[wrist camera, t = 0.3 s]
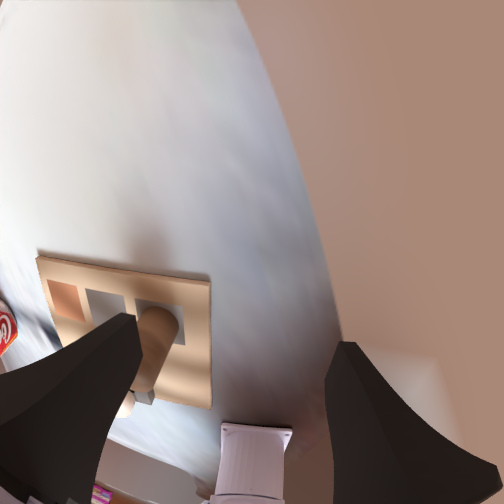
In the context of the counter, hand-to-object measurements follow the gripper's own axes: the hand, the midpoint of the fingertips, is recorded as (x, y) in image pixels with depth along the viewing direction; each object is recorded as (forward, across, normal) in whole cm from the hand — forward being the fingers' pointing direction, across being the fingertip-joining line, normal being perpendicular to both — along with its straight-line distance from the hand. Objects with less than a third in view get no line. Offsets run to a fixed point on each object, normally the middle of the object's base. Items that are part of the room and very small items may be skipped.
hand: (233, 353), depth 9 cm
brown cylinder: (+9, +7, +7) cm, 14 cm away
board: (+10, +11, +11) cm, 18 cm away
